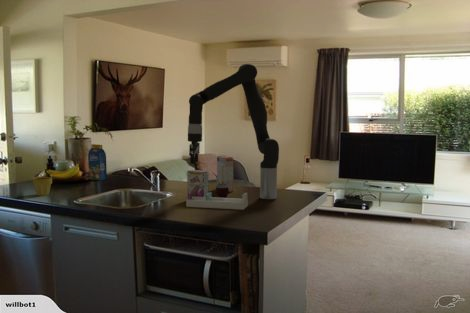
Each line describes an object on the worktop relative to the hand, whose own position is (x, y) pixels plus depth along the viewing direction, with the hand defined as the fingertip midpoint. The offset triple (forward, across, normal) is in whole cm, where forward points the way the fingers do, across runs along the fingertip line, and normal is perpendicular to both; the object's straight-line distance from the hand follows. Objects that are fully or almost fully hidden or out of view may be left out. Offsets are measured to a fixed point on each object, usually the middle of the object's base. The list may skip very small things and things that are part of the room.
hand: (194, 162), depth 238 cm
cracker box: (+20, +36, -12) cm, 43 cm away
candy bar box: (+21, +3, -2) cm, 22 cm away
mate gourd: (+21, +10, -14) cm, 27 cm away
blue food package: (+24, +68, +84) cm, 111 cm away
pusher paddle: (+19, -9, -14) cm, 26 cm away
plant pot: (+25, +10, +92) cm, 95 cm away
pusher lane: (+20, -9, -15) cm, 27 cm away
